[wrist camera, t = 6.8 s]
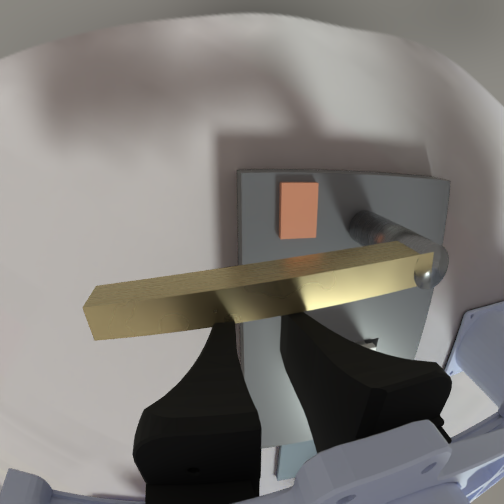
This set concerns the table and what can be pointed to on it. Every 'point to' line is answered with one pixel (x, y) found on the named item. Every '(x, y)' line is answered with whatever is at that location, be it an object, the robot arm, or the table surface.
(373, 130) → the table surface
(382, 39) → the table surface
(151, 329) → the brass flat bar
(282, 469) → the mat
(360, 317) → the grey panel
